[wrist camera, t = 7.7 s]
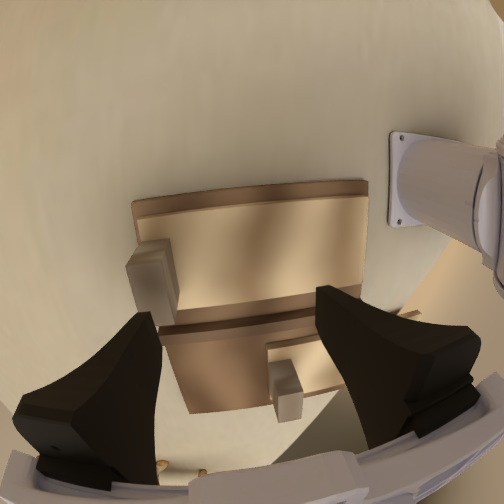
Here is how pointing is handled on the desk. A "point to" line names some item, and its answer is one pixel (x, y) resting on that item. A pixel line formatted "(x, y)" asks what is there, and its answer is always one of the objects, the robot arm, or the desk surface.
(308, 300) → the lane board
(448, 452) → the robot arm
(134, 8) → the desk surface
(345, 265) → the empty strip
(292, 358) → the strip
